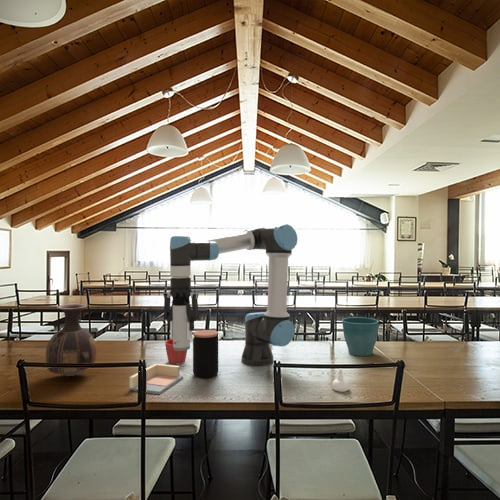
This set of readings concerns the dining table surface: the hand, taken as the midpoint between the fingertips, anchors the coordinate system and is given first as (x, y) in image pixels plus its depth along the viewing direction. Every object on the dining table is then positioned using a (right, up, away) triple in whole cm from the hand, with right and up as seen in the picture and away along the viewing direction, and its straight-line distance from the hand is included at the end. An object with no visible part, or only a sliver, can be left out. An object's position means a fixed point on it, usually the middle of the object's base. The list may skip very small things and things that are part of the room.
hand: (181, 338), depth 143 cm
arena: (-11, -20, +8) cm, 24 cm away
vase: (-49, -20, +16) cm, 55 cm away
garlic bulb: (+60, -20, +2) cm, 64 cm away
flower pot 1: (-9, -20, +37) cm, 43 cm away
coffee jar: (+7, -20, +19) cm, 28 cm away
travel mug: (0, -4, 0) cm, 4 cm away
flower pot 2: (+82, -20, +52) cm, 99 cm away
